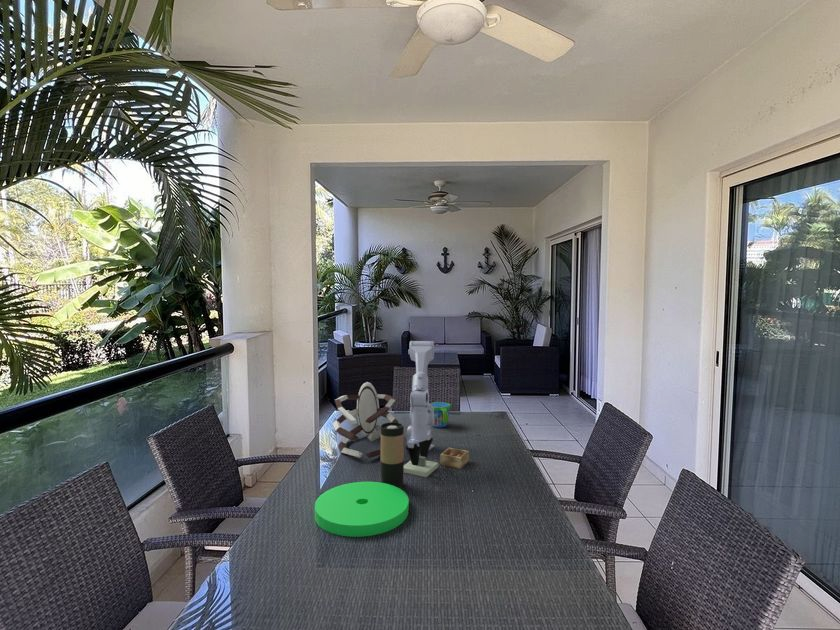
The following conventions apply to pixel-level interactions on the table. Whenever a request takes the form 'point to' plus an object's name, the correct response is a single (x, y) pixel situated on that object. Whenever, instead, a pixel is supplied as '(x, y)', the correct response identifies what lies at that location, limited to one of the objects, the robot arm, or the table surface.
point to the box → (454, 458)
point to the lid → (421, 467)
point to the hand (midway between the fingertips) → (419, 461)
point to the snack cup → (441, 413)
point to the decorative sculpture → (363, 417)
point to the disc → (361, 509)
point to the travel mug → (392, 454)
